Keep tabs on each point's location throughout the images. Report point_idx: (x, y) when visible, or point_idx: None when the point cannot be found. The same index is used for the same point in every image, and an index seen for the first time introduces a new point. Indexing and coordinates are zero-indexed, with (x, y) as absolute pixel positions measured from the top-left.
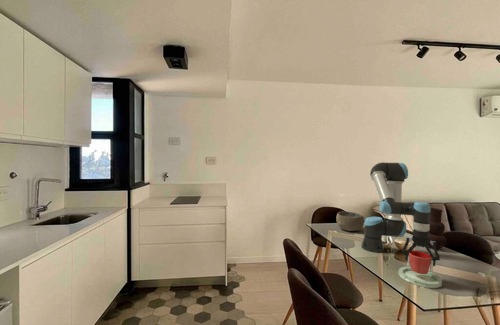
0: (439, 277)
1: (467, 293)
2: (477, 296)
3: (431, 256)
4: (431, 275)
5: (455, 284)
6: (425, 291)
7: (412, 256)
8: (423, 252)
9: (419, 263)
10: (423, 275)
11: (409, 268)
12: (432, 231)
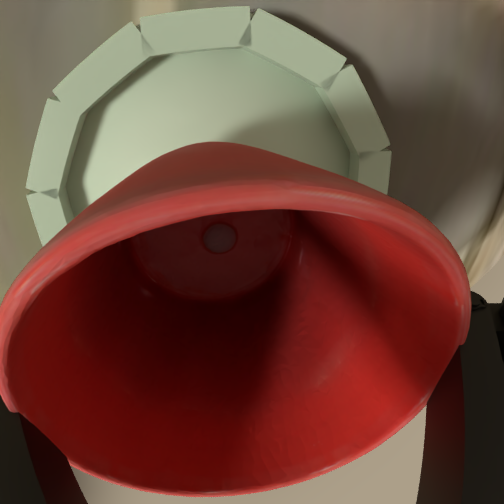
0: (385, 153)
1: (462, 233)
2: (485, 237)
3: (433, 413)
4: (324, 100)
5: (451, 134)
6: None
7: (136, 471)
8: (373, 217)
9: (225, 411)
10: (248, 135)
11: (104, 92)
12: None
